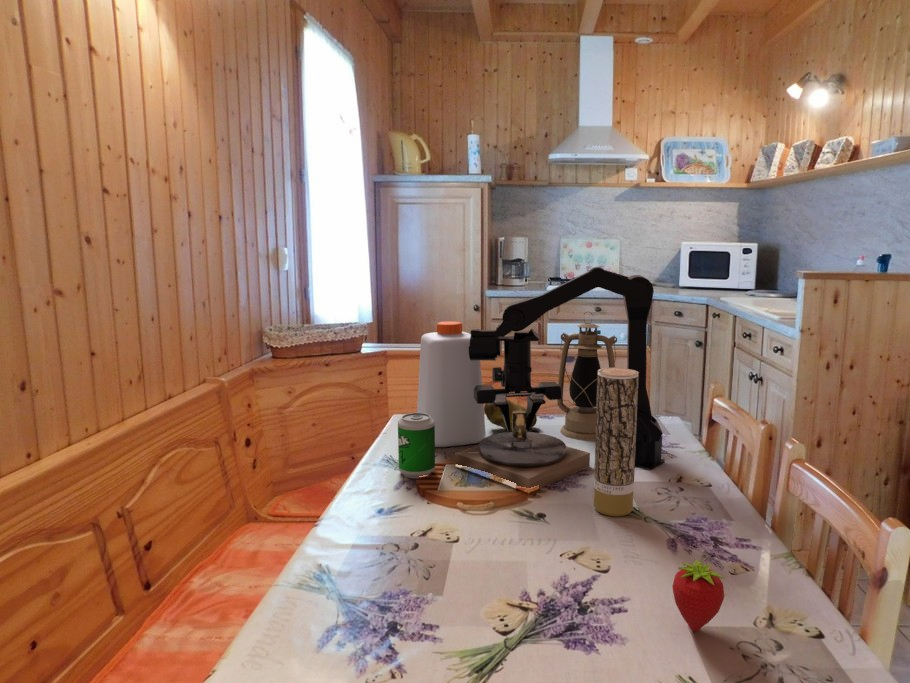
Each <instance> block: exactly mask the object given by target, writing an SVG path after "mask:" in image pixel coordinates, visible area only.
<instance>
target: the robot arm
mask: <svg viewBox="0 0 910 683" xmlns="http://www.w3.org/2000/svg"><path fill="white" fill-rule="evenodd" d="M596 288H599V289H604V290H605V291H608V292H611V293H614V294H617V295H620V296H622V298H623V304H624V308H625V309H624V310H625V313H626V318H627V320H626V321H627V342H626V343H627V345H626V346H627V349H626V350H627V351H626V353H627V365H626V366H627V368H626V369H632V370H635V371H637V372H638V375H639V377H638V401H637V425H636V449H635V467H639V468H642V469H646V470H653V469H655V468H656V467H658V466H661V465H663V464H665V463H666V462H665V461H666V460H665V459H664V458H662V452H663V451H662V450H663V430H662V428H661V425H660V424H659V421H658V419H656V418H655V417H654V416H653V415H652V409H651V405H650V403H651V402H650V399H649V395H648V390H647V348H648V347H647V346H648V345H647V344H648V340H647V337H648V336H647V334H648V333H647V332H648V331H647V330H648V323H647V322H648V318H649V315H650V311H651V307H652V302H653V297H654V285H653V284H652V282H651V281H650V280H649V279H648V278H646V277H645V276H643V275H641V274H635V275H634V274H633V275H630V276H627V275H626V276H625V275H623V274H620V273H616V272H613V271H610V270H607V269H604V268H602V267H600V266H595V267H592V268H590V270H588V271H585V272H584V273H583V274H580V275H578V276H576V277H574V278H572V279H570V280H568V281H566V282H564V283H562V284H559V285H558V286H556V287H553V288H552V289H550V290H548V291H546V292H544V293H542V294H539V295H535V296H532V297H527V298H524V299H521V300H518V301H513V302H512V303H510V304H509V305H508V306H507V307H506V308H505V309H504V311H503V313H502V322H501V323H500V324H498V325H497V326H496V327H495V328H496V329H478V328H472V329H471V330H470V334H471V337H470V345H469V358H470V360H480V361H489V362H490V361H494V362H495V361H497V358H498V357H501V356H502V350H503V349H504V350H503V356H504V357H503V359H504V360H503V370H502V367H501V366H500V367H499V366H498V367H492V368H491V369H492V370H491V371H492V374H491V375H492V376H491V377H492V382H493V383H499V382H500V386H501V387H503V388H494V386H493V385H492V384H482V385H479V386H476V387H475V388H474V399H475V400H476V402H477V403H478V404H484V405H485V404H487V403H493V404H494V406H496V407H499V409H500V411H501V413H502V416H503V419H504V422H505V425H506V428H507V429H506V430H507V432H511V431H510V415H509V404H508V403H507V401H506V399H507V398H515V397H516V398H517V397H519V398H520V397H526V405H527V406H526V408H527V431H529V430H530V429H531V428H530V426H531V424H532V422H533V419H534V417H535V415H536V416H537V413H538V412H539V409H540V408H541V405H546V402H547V401H546V400H545V397H546V398H547V399H548V400H549V401H554V400H555V401H556V400H558V399H563V400H564V389H563V390H562V388H561V387H560V386H559V385H558V382H555V381H540V382H539V383H538V386H532V372H533V371H532V370H533V369H532V359H531V358H532V356H531V354H532V349H531V346H532V344H531V342H538V341H539V340H540V336H539V334H537V333H536V332H535V331H534V329H533V328H530V330H529V331H528V332H523V330H525V329H526V328H528V327H529V326H530V325H532V324H533V323H534V322H536V321H537V320H538V319H540V318H541V317H542V316H544V315H545V314H546V313H548V312H549V311H551V310H553V309H555V308H557V307H559V306H562V305H564V304H566V303H568V302H571V300H574V299H576V298H578V297H580V296H583V295H584V294H587V293H588V292H590V291H592V290H595V289H596ZM521 331H522V332H521ZM511 332H514V334H513V335H511V336H507V335H509V334H510V333H511Z"/></svg>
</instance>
